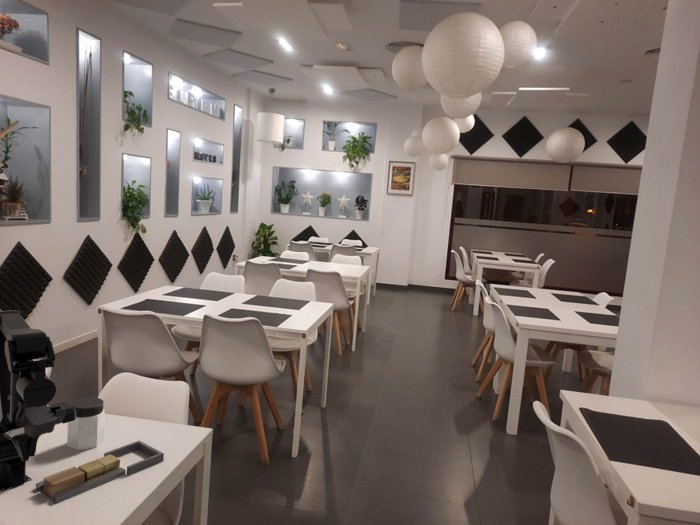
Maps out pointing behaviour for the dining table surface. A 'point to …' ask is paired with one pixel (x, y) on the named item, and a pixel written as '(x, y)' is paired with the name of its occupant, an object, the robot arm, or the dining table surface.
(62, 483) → the tan wooden brick
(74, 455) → the dining table surface
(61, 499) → the rail bed
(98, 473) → the olive wooden block
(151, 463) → the tray
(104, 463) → the tan wooden block
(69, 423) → the jar
